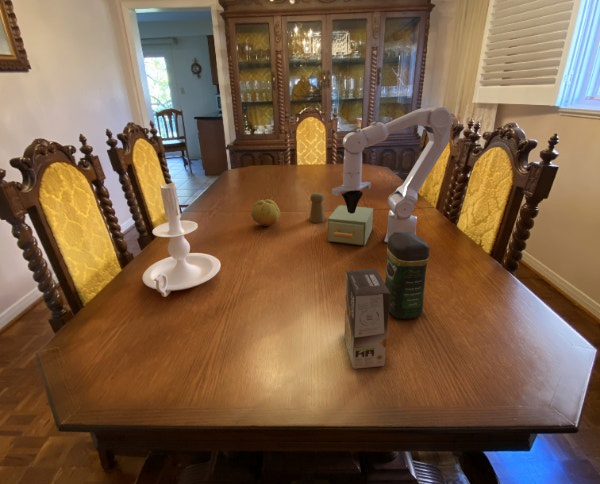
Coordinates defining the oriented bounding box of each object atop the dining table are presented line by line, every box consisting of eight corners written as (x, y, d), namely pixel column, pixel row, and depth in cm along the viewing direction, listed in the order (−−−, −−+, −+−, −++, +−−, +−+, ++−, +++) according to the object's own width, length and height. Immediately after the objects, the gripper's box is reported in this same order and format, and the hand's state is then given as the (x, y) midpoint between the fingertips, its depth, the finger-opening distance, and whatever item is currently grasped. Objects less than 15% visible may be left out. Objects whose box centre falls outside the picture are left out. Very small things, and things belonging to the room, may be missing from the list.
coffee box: (386, 366, 65) (392, 293, 59) (352, 369, 65) (355, 296, 59) (372, 334, 74) (376, 267, 68) (342, 336, 73) (344, 270, 67)
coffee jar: (427, 319, 78) (437, 244, 71) (393, 322, 77) (400, 247, 70) (409, 295, 87) (416, 227, 80) (378, 298, 86) (383, 229, 79)
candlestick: (120, 309, 84) (92, 200, 74) (164, 261, 107) (148, 173, 97) (202, 311, 83) (185, 200, 72) (229, 262, 106) (219, 172, 95)
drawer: (359, 250, 109) (360, 230, 107) (325, 245, 113) (325, 226, 111) (369, 229, 125) (370, 212, 122) (338, 226, 129) (338, 209, 126)
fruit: (246, 229, 131) (244, 203, 127) (261, 218, 141) (259, 195, 137) (272, 232, 127) (271, 206, 123) (285, 221, 137) (284, 197, 133)
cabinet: (364, 245, 114) (365, 222, 111) (327, 241, 118) (328, 218, 115) (372, 229, 127) (373, 208, 124) (338, 226, 131) (338, 205, 128)
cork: (323, 223, 134) (323, 196, 130) (308, 222, 135) (307, 195, 131) (325, 217, 140) (325, 191, 136) (311, 217, 141) (310, 191, 137)
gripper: (342, 177, 103) (341, 220, 108) (378, 171, 109) (376, 211, 114) (328, 173, 108) (328, 214, 113) (363, 167, 115) (361, 206, 120)
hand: (351, 212), depth 114 cm, fingers closed
